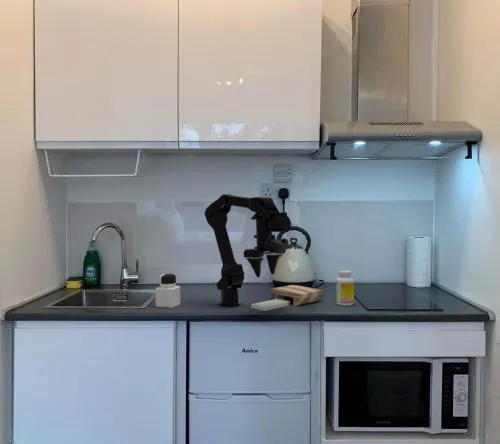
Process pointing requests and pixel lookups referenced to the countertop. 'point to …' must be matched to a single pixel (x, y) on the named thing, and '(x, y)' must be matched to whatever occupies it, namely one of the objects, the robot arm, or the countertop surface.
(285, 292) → the overhang
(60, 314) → the countertop surface
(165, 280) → the medicine bottle
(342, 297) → the supplement bottle
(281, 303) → the sage plate
